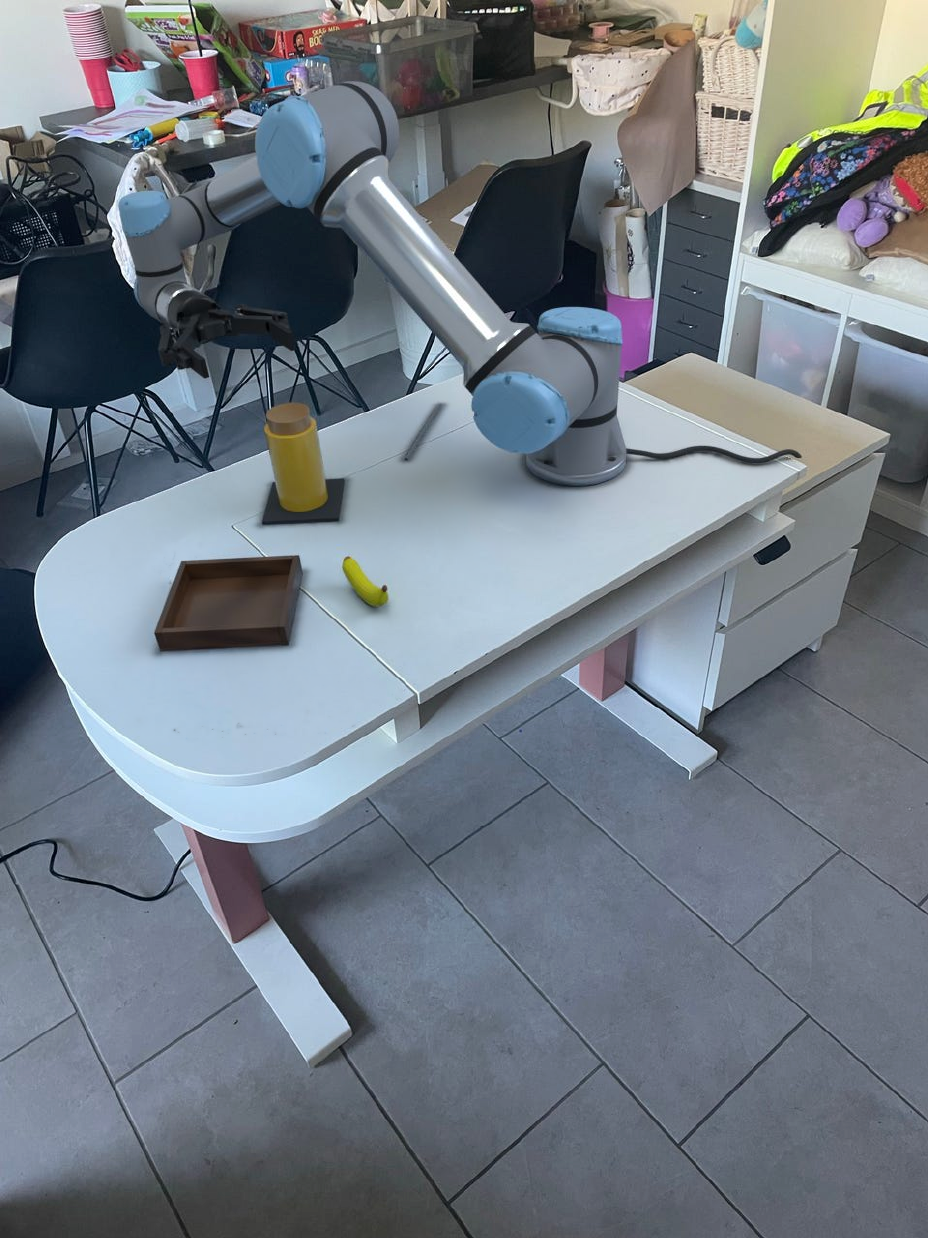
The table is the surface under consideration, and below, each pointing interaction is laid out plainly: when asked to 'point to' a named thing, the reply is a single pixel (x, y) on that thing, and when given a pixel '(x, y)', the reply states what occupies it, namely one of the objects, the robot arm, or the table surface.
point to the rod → (423, 432)
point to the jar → (296, 457)
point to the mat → (321, 514)
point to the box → (231, 603)
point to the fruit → (364, 584)
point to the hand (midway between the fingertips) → (249, 354)
